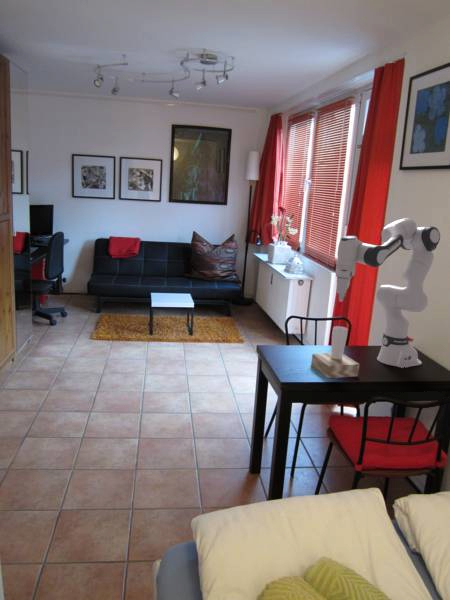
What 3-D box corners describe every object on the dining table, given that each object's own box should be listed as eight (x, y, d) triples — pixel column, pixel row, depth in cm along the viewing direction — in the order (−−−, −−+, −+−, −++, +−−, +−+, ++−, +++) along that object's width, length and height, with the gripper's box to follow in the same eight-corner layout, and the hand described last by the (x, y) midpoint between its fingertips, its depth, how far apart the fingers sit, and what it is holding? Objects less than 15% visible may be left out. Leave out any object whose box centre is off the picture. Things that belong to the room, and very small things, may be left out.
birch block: (339, 363, 252) (341, 352, 251) (357, 376, 238) (359, 364, 236) (311, 365, 247) (312, 353, 246) (327, 378, 232) (329, 366, 231)
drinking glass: (343, 361, 238) (347, 331, 234) (329, 359, 239) (333, 329, 236) (343, 357, 244) (347, 327, 241) (329, 355, 246) (333, 325, 242)
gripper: (341, 266, 249) (338, 293, 253) (335, 273, 231) (332, 303, 234) (354, 267, 247) (351, 295, 251) (349, 275, 229) (346, 304, 232)
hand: (342, 299), depth 242 cm, fingers open, 8 cm apart
